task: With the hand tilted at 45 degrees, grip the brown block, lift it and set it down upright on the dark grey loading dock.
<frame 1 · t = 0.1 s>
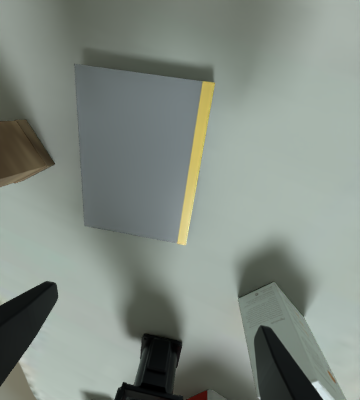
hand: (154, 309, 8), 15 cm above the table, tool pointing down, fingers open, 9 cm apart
small box: (270, 306, 27), on the table
dock: (143, 163, 21), on the table
brown block: (24, 152, 22), on the table
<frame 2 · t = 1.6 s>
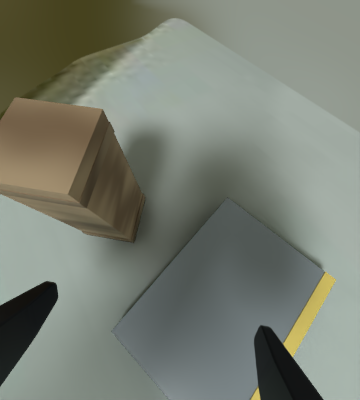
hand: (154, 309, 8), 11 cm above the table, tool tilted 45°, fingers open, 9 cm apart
dock: (223, 301, 19), on the table
brown block: (117, 215, 22), on the table
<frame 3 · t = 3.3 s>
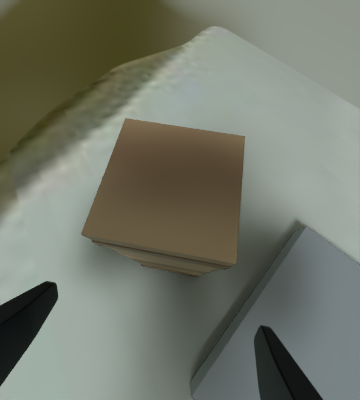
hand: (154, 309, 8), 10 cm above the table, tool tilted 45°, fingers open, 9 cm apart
dock: (310, 352, 16), on the table
brown block: (175, 243, 19), on the table
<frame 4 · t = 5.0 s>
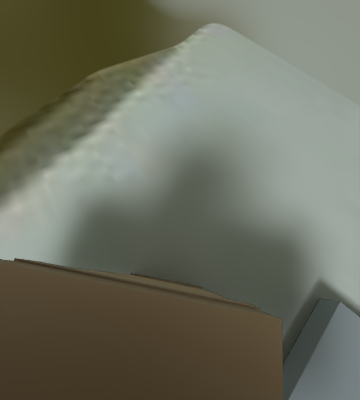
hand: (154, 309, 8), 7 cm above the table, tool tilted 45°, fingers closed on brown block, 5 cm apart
brown block: (159, 318, 14), on the table, touching gripper
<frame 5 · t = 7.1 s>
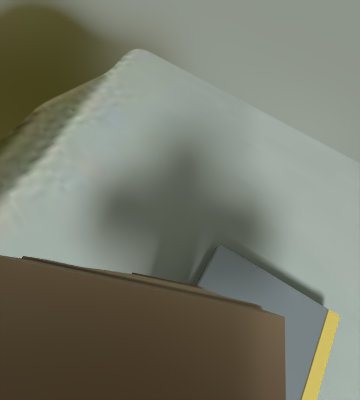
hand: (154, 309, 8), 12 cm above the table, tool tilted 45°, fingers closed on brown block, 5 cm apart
dock: (233, 356, 18), on the table
brown block: (160, 317, 14), point 6 cm above the table, touching gripper
when the fingers open (9 cm above the table, at t = 9.1 s): brown block stays where it is, resting on dock.
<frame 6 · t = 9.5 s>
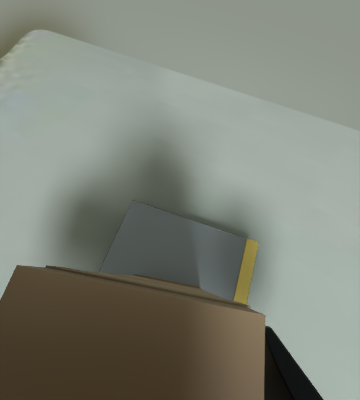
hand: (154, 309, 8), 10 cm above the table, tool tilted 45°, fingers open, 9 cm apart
dock: (162, 311, 17), on the table
brown block: (161, 316, 15), point 2 cm above the table, touching dock
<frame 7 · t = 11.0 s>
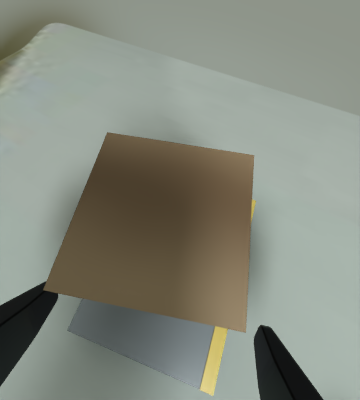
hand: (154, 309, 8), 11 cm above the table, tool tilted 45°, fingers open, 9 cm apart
dock: (173, 259, 20), on the table
brown block: (173, 258, 18), point 2 cm above the table, touching dock
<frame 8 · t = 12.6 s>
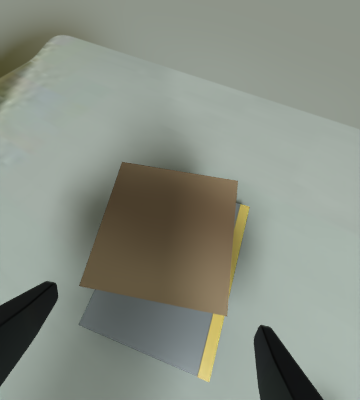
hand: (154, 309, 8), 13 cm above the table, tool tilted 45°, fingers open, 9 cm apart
dock: (173, 261, 21), on the table
brown block: (173, 260, 19), point 2 cm above the table, touching dock
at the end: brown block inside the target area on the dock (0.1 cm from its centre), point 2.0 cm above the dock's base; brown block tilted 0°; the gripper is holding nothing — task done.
